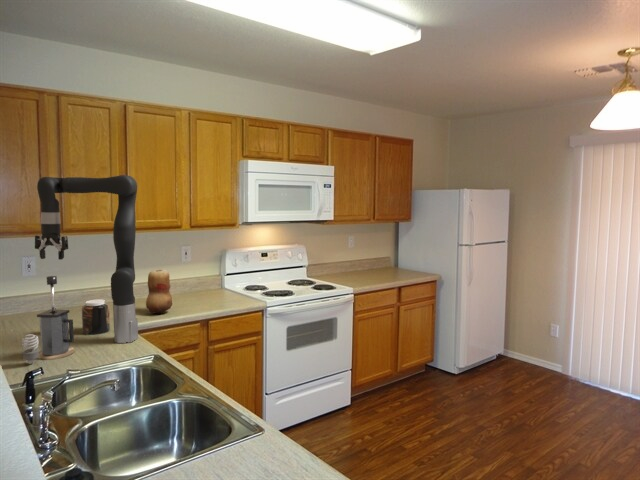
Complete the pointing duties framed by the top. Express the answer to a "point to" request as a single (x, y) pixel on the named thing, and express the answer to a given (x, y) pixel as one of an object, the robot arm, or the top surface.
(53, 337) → the carafe
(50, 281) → the plunger
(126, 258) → the robot arm
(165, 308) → the butternut squash
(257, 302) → the top surface
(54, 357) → the disc
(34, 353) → the light bulb
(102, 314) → the jar
